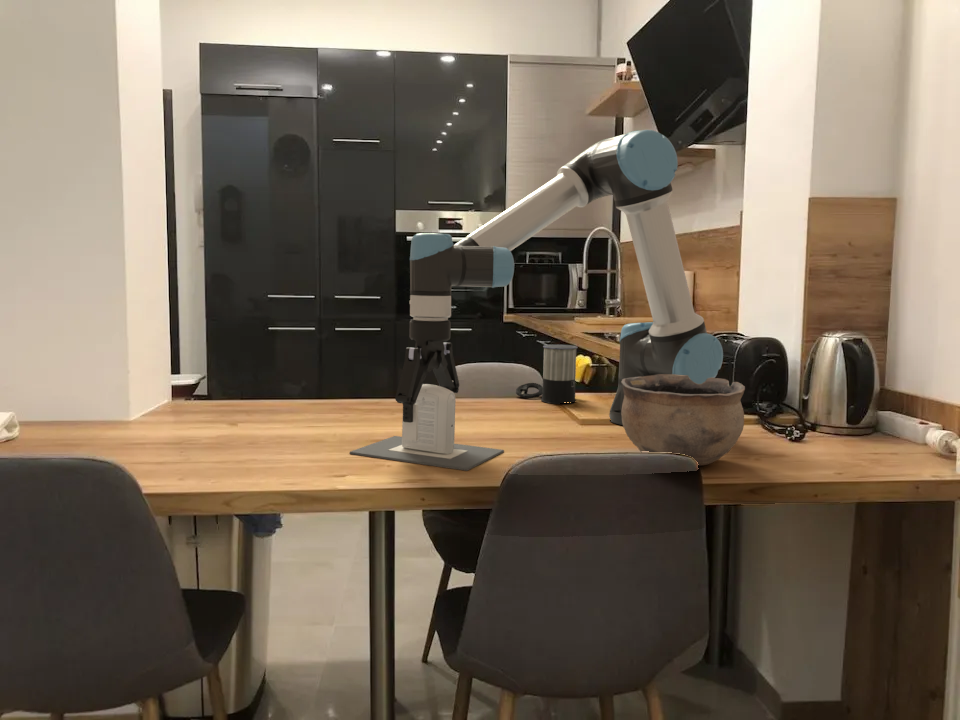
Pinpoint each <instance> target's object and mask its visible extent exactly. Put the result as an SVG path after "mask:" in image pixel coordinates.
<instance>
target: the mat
mask: <svg viewBox="0 0 960 720" xmlns="http://www.w3.org/2000/svg"><path fill="white" fill-rule="evenodd" d="M504 452H505V450H504V449H500V448H493V447H491V448H490V447H484V446H478V445H475V446H474V445H468V444H462V443H454V449H453V452H452V453H450V454H441V453H435V452H429V451H422V450H415V449H409V448H403V447H402V436H398V435H393V436H391V437H388V438H384V439H382V440H380V441H376V442H374V443H371V444H368V445H365V446H362V447H359V448H357V449H353V450H351V451H349V454H350V455H356V456H361V457H362V456H363V457H367V458H368V457H369V458H376V459H383V460H390V461H397V462H404V463H413V464H417V465H423V466H431V467H439V468H446V469H451V470H453V469H454V470H457V471H458V470H459V471H469V470H472V469H473V468H475V467H478V466H479V465H481V464H483V463H485V462H487V461H489V460H491V459H493V458H496V457H497V456H498V455H501V454H503V453H504Z"/></svg>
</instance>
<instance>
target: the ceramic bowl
mask: <svg viewBox="0 0 960 720" xmlns="http://www.w3.org/2000/svg"><path fill="white" fill-rule="evenodd" d="M621 383H622V387H623V392H624V400H623V404H622V411H621V415H622V424H623V425H622V426H623V428H624V431H625V434H626V436H627V437H628V438H629V440H630V441H631V443H632V444H633V445H634V446H635V447H637V449H638V450H639V451H640V452H641V451H649V452H672V453H680V454H685V455H688V456H691V457H693V458H694V459H695V460H696V461H697V462H698V464H699V466H706V465H710V464H712V463H714V462H716V461H718V460H719V459H721V458H722V457H723V456H725V455H726V454H728V453H729V451H730V450H731V449H732V448H733V447H734V446H735V445H736V444H737V442H738V440H739V438H740V437H741V434H742V433H743V430H744V426H745V412H744V408H743V405H742V402H741V399H742V397H743V395H744V393H745V390H746V386H745V385H743V384H742V382H741V383H740V382H739V381H733V382H731V385H730V381H729V380H728V379H726V378H719V377H717V378H716V377H715V378H713V377H712V378H707V380H706V381H705V382H703V383H702V384H697V383H695V382H693V381H692V380H691V379H690V378H689V376H688V375H675V374H657V375H652V376H643V377H631V378H627V379H622V381H621Z"/></svg>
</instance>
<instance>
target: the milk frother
mask: <svg viewBox="0 0 960 720" xmlns="http://www.w3.org/2000/svg"><path fill="white" fill-rule="evenodd" d="M542 347H543V368H542V369H543V373H542V374H543V375H542V385H541V384H539V383H536V382H527V383H524V384H521V385H520V386H518V387H517V388H516V390H515V394H516V395H517V396H519V397H521V398H524V399H525V398H526V399H535V398H538V397H541V399H540V401H541V402H544V403H547V404H554V405H561V404H560V403H564V402H566V403H567V402H569V403H570V402H575V401H577V399H576V375H577V374H576V372H577V371H576V370H577V369H576V368H577V349H578V348H579V347H578V346H577V345H573V344H572V345H571V344H544V345H543V346H542ZM531 388H533V389H534V388H535V389H537V390H538V391H537V392H535V393H528V392H529V389H531ZM575 403H576V402H575Z"/></svg>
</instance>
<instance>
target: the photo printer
mask: <svg viewBox="0 0 960 720" xmlns="http://www.w3.org/2000/svg"><path fill="white" fill-rule="evenodd" d="M455 394H456V393H454V392H452V391H451V390H449V389H447V388H444V387H441V386H439V385H436V384H430V383H423V385H422V387H421V390H420V392H419V395H418V397H417V400H416V402H415V404H418V440H417V441H413V440H405V439H403V421H402V425H401V426H402V429H401V431H402V432H401V437H402V447H403V448H409V449H415V450H422V451H429V452H435V453H441V454H450V453H452V452H453V449H454V444H455V432H456V431H455V430H456V428H455V427H456V395H455ZM411 397H412V396H411Z"/></svg>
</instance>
